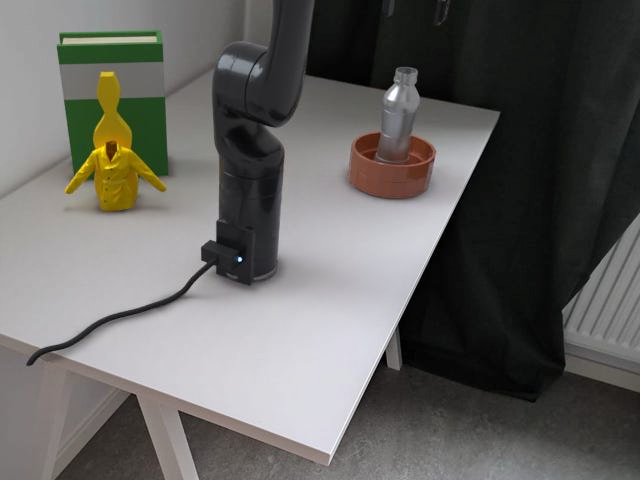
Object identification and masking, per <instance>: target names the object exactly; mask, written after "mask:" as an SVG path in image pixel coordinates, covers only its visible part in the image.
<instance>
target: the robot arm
mask: <svg viewBox="0 0 640 480" xmlns="http://www.w3.org/2000/svg"><path fill="white" fill-rule="evenodd" d="M395 1H396V0H382V4H381V11H382V13H383V16H384V17H386V18H389V17H391V16H393V14H394V8H395ZM450 2H451V0H437V3H436V9H435V14H434V19H433V26H437V27H439V26H440V25H442V23H443V22H445V21H446V19H447V17H448V12H449V7H450ZM270 5H271V19H270V20H271V21H270V31H269V38H268V45H267V46H264V45H260V44H256V43H253V42H250V41H249V42H248V41H243V40H237V41H233V42H231V43H229V44H227V45H226V46H225V47H224V48H223V49H222V51H221V52H220V54H219V56H218V57H217V60H216V63H215V66H214V69H213V74H212V80H211V105H212V107H211V108H212V123H213V142H214V147H215V149H216V152H217V155H218V218H217V220H216V221H215V240H212V239H209V240H207V241H206V242H205V243H204V244H203V245H202V246H201V247H200V262H203V263H205V264H204V265H203V266H202V267H200V268H199V270H197V271H196V272H195V273H194V274H193V275H192V276H191V277H190V278H189V279H188V280H187V282H186V283H185V285H184V286H183V287H182V288H181V289H179V290H178V291H177V292H175V293H174V294H172V295H171V296H170V295H169V296H168V297H166V298H163V299H161V300H158V301H155V302H152V303H148V304H145V305H143V306H139V307H136V308H131V309H128V310H124V311H119V312H116V313H113V314H108V315H107V316H104V317H102V318H100V319H98V320H96V321H94V322H92V323H91V324H90V325H88V326H87V327H86V328H85V329H83V330H82V331H81V332H80V333H78V334H77V335H75V336H74V337H72V338H70V339H69V340H67V341H65V342H61V343H56V344H53V345H52V344H51V345H48V346H43V347H42V348H39V349H37V350H36V351H35V352H34V353H33V354H32V355H31V356H30V357H29V358H28V360H27V361H26V363H25V366H26V367H30V366H33V365H34V364H35V362H36V361H37V360H38V359H39V358H40V357H42V356H45V355H46V354H49V353H54V352H57V351H58V352H59V351H62V350H65V349H69V348H71V347H72V346H75V345H76V344H78V343H80V342H81V341H82V340H83V339H86V337H87V336H89V335H90V334H91V333H92V332H94V331H95V330H96V329H98V328H100V327H102V326H103V325H105V324H107V323H110V322H112V321H113V322H114V321H115V320H119V319H123V318H127V317H131V316H135V315H139V314H142V313H146V312H148V311H152V310H154V309H157V308H160V307H161V308H162V307H164V306H166V305H169V304H171V303H173V302H175V301H177V300H178V299H180V298H181V297H183V296H184V295H185V294H187V293H188V292H189V290H190V289H191V287H192V286H193V285H194V284H195V283H196V282H197V281H198V280H199V279H200V278H201V277H202V276H203V275H204V274H205V273H206V272H208V271H209V270H210V269H211V268H213V266H214V267H215V274H216V275H218V276H221V277H223V278H226V279H228V280H232V281H234V282H237V283H240V284H243V285H246V286H248V287H249V286H252V285H253V284H254V283H260V282H264V281H266V280H268V279H270V278H272V277H273V276H274V275H275V274H276V273H277V271H278V267H279V260H278V257H279V242H280V240H279V239H280V227H281V226H280V225H281V214H282V200H283V199H282V198H283V197H282V196H283V186H284V184H283V183H284V170H285V159H286V157H285V156H286V155H285V153H286V152H285V147H284V145H283V143H282V142H281V140H279V138H278V137H277V136H275V135H274V134H273V133H272V132H271V131H270V130H269V129H268V128H267V127H269V128H274V129H278V128H281V127H284V126H285V125H286V124H287V123H288V122H290V120H291V119H292V117H293V116H294V114H295V113H296V111H297V109H298V106H299V103H300V100H301V97H302V93H303V88H304V84H305V78H306V72H307V65H308V57H309V50H310V49H309V48H310V41H311V33H312V26H313V18H314V12H315V5H316V0H270Z"/></svg>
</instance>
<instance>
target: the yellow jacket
mask: <svg viewBox="0 0 640 480" xmlns="http://www.w3.org/2000/svg"><path fill="white" fill-rule="evenodd" d="M120 92H121V89H120V85H119V82H118V80H117V77H116V75H115V73H114V72H101V75H100V79H99V83H98V87H97V97H98V100H99V102H100V104H101V106H102V108H103V110H104V113H105V114H104V116H103V117H102V119H101V120H100V122H99V123H98V125H97V127H96V128H95V132H94V136H93V141H94V145H95V150H94V151H92V153H91V155H90V156H89V158H88V159H87V161H86V162H85V164H84V165H83V166H82V167H81V168H80V170H79V171H78V172H77V174H76V175H75V176H74V175H73V178H72V179H71V181H70V182H69V183H68V185H67V186H66V188H65V189H64V193H65V194H67V195H72V194H73V193H74V192H75V191H76V190H77V189H79V187H80V186H82V185H83V184H84V183H85V181H86V180H87V178H88V177H89V176H90V175H91V174H92V172H93V171H94V170H95V169H96V171H95V177H94V178H93V182H94V183H93V184H94V189H95V194H96V196H97V198H98V200H99V208H100V209H101V210H102V211H104V212H118V211H119V212H121V211H122V210H127V209H131V208H133V207H135V206H136V203H135V201H136V200H137V197H138V194H139V187H140V186H139V185H140V184H139V183H140V180H139V177H138V174H139V175H140V177H141V178H142V179H143V180H145V181H146V182H147V183H148V184H150V185H151V186H152V187H153V188H154V189H156V190H158V191H159V192H161V193H164V192H166V191H167V190H168V187H166V185H165V184H164V182H162V181H161V179H160V178H159V176H156V175H155V174H154V173H153V172H152V171H151V170H150V168H149V167H148V166H147V165H146V164H145V163H144V162H143V161H142V160H141V159H140V158H139V157H138V156H137V155H136V154H135V153H134V152H133V151H132V150H131V143H132V132H131V129H130V127H129V126H128V125H127V124H126V122H125V121H124V120H123V119H122V118H121V116H120V115H119V114H118V112H117V106H118V103H119V98H120Z"/></svg>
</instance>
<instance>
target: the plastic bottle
mask: <svg viewBox="0 0 640 480" xmlns="http://www.w3.org/2000/svg"><path fill="white" fill-rule="evenodd" d="M418 75H419V71H418V70H417V68H415V67H414V68H413V67H409V66H400V67H397V68H396V69H395V73H394V76H393V82H394V84H392V85H391V86H390V87H389V88H388V89H387V91H386V92H385V93H384V95H383V97H382V99H381V126H380V129H381V130H380V131H381V136H380V140H379V144H378V149H377V152H376V155H375V157H374V161H376V162H380V163H384V164H391V165H409V149H410V138H411V134H412V133H413V131H414V125H415V121H416V118H417V117H418V113H419V110H420V106H421V96H420V94H419V92H418V90H417V88H416V86H415V85H416V84H417V82H418Z"/></svg>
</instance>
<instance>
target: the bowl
mask: <svg viewBox="0 0 640 480" xmlns="http://www.w3.org/2000/svg"><path fill="white" fill-rule="evenodd" d="M380 136H381V130H378V131H370V132H366V133H364V134H361V135H358V136H356V138H354V139H353V140H352V143H351V146H350V154H349V162H348V169H347V179H348V181H349V183H350V184H351V185H352V186H353V187H354V188H356V189H358V190H360V191H361V192H364V193H366V194H370V195H372V196H377V197H381V198H388V199H389V198H390V199H402V198H410V197H415V196H417V195H420V194H422V193H424V192H426V191H427V190H428V189H429V187H430V183H431V178H432V174H433V169H434V164H435V159H436V155H437V150H436V148H435V145H434V144H432V143H431V142H430V141H428V140H427V139H424V138H422V137H420V136H418V135H415V134H412V133H411V138H410V149H409V165H391V164H384V163H380V162H376V161H374V157H375V155H376V152H377V149H378V144H379V140H380Z"/></svg>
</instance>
